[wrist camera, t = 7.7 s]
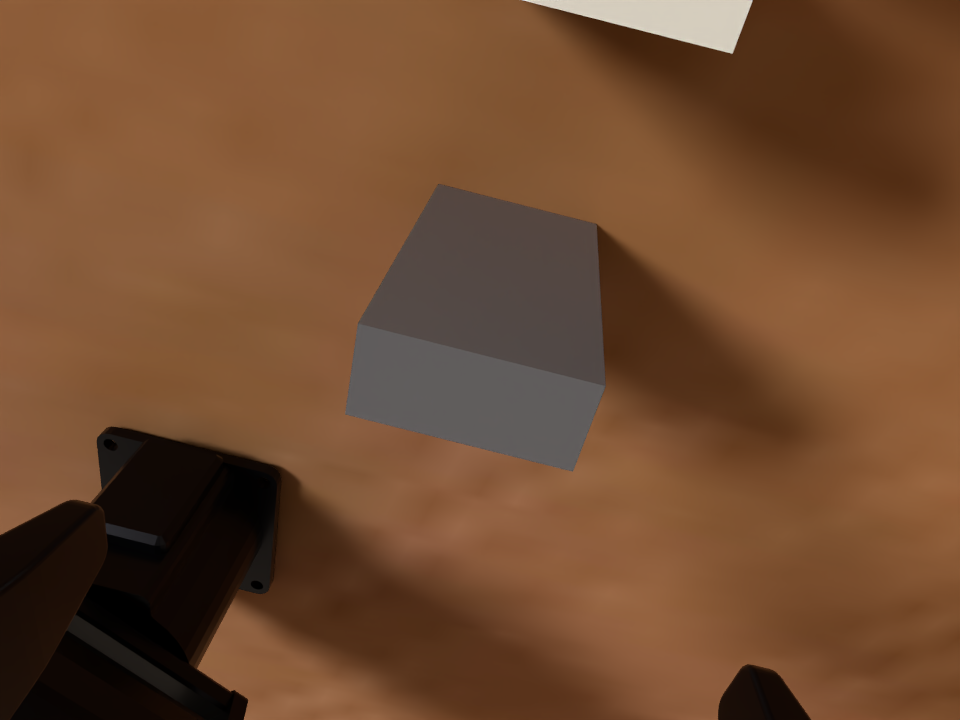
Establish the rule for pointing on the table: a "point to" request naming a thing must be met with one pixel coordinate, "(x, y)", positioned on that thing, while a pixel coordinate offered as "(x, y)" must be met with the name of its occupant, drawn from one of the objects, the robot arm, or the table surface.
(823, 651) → the table surface
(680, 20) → the domino
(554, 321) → the domino
